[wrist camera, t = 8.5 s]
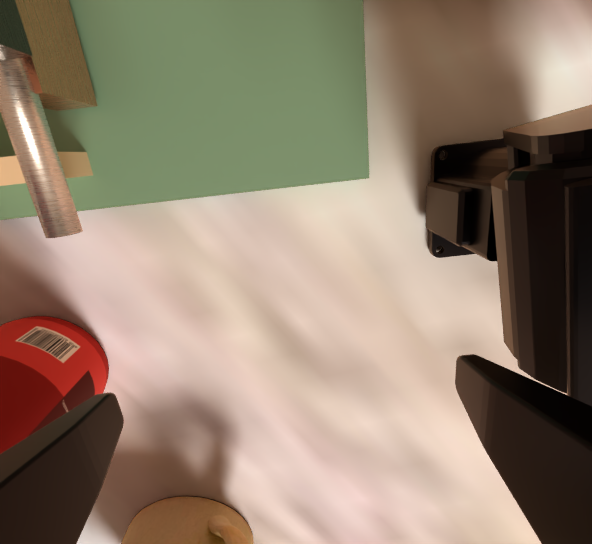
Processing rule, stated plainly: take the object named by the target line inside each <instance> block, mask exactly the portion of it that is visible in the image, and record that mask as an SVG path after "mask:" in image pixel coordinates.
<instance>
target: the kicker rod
mask: <svg viewBox="0 0 592 544" xmlns="http://www.w3.org/2000/svg"><path fill="white" fill-rule="evenodd" d="M96 106H97V102H96V98H95V95H94V91H93V87H92V84H91V80H90V76H89V73H88V69H87V65H86V62H85V58H84V54H83V51H82V47H81V44H80V40H79V36H78V33H77V29H76V25H75V22H74V18H73V14H72V11H71V7H70V3H69V0H0V113H1V115H2V118H3V121H4V124H5V126H6V129H7V132H8V135H9V137H10V140H11V143H12V146H13V148H14V151H15V154H16V157H17V160H18V162H19V165H20V168H21V171H22V173H23V176H24V179H25V182H26V184H27V187H28V190H29V193H30V195H31V198H32V201H33V204H34V206H35V209H36V212H37V215H38V217H39V220H40V223H41V226H42V228H43V231H44V234H45V237H46V238H55V237H62V236H67V235H72V234H76V233H79V232H82V231H83V230H82V227H81V224H80V221H79V218H78V214H77V211H76V208H75V205H74V202H73V199H72V196H71V193H70V190H69V187H68V183H67V180H66V177H65V174H64V171H63V168H62V165H61V162H60V159H59V156H58V153H57V149H56V146H55V143H54V140H53V137H52V134H51V131H50V128H49V125H48V122H47V119H46V115H45V112H44V109H43V108H45V109H51V110H56V111H62V110H71V109H79V108H87V107H96Z"/></svg>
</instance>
